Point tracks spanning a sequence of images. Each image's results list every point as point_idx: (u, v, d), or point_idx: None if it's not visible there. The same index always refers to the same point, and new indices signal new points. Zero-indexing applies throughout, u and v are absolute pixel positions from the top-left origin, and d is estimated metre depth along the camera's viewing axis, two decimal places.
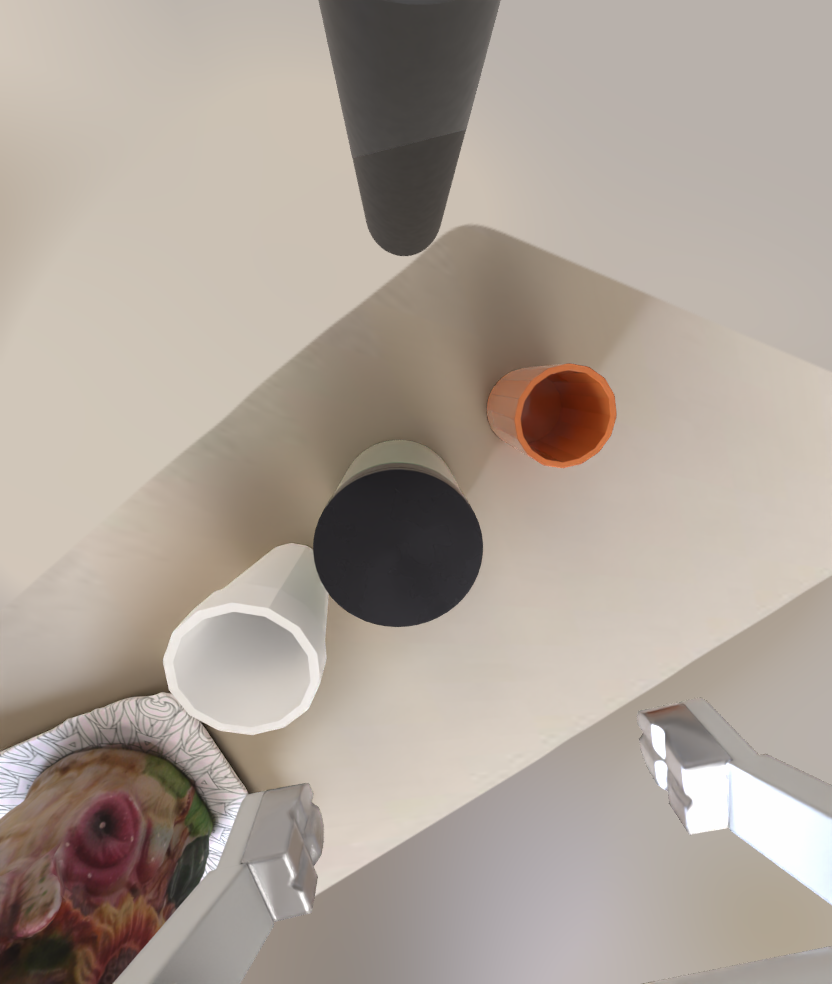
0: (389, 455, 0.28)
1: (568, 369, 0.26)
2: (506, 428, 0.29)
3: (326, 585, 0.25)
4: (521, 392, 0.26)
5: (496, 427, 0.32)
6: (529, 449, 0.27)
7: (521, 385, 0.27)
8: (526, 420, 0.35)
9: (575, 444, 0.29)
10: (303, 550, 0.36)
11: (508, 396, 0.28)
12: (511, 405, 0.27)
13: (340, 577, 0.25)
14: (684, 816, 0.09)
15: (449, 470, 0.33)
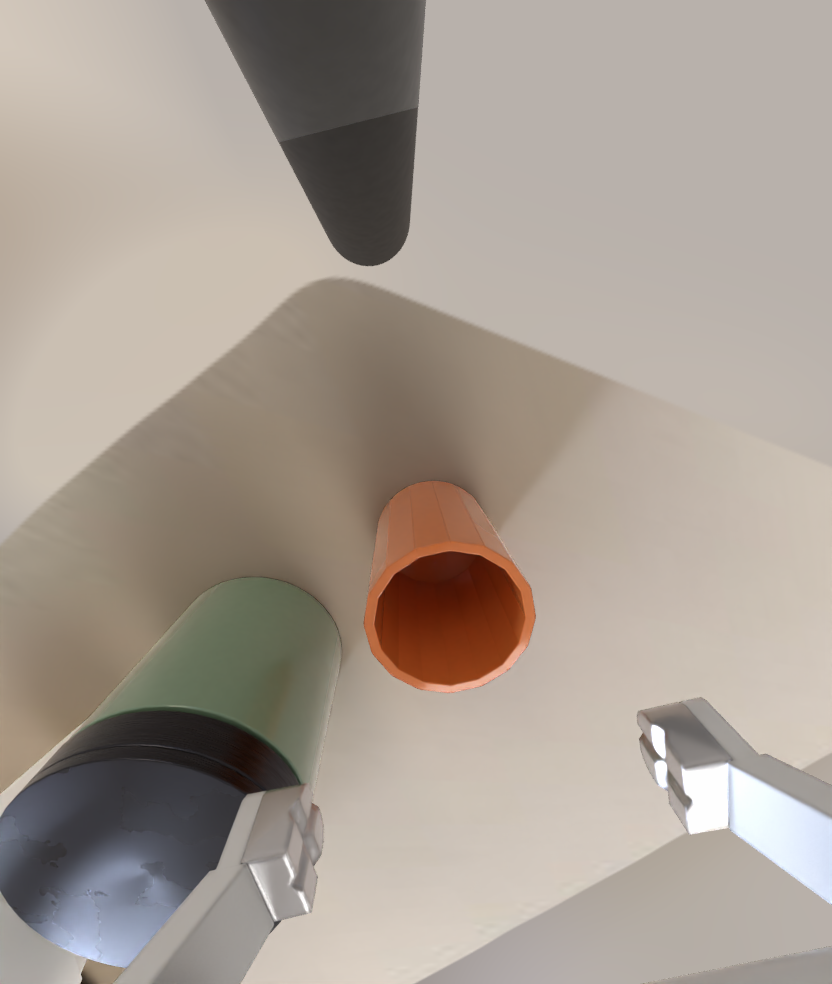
0: (178, 660, 0.17)
1: (450, 549, 0.15)
2: None
3: (29, 922, 0.15)
4: (374, 582, 0.15)
5: None
6: (393, 667, 0.16)
7: (382, 560, 0.16)
8: (433, 553, 0.24)
9: (483, 628, 0.19)
10: None
11: (373, 562, 0.18)
12: None
13: (52, 911, 0.15)
14: (684, 816, 0.09)
15: (311, 638, 0.22)
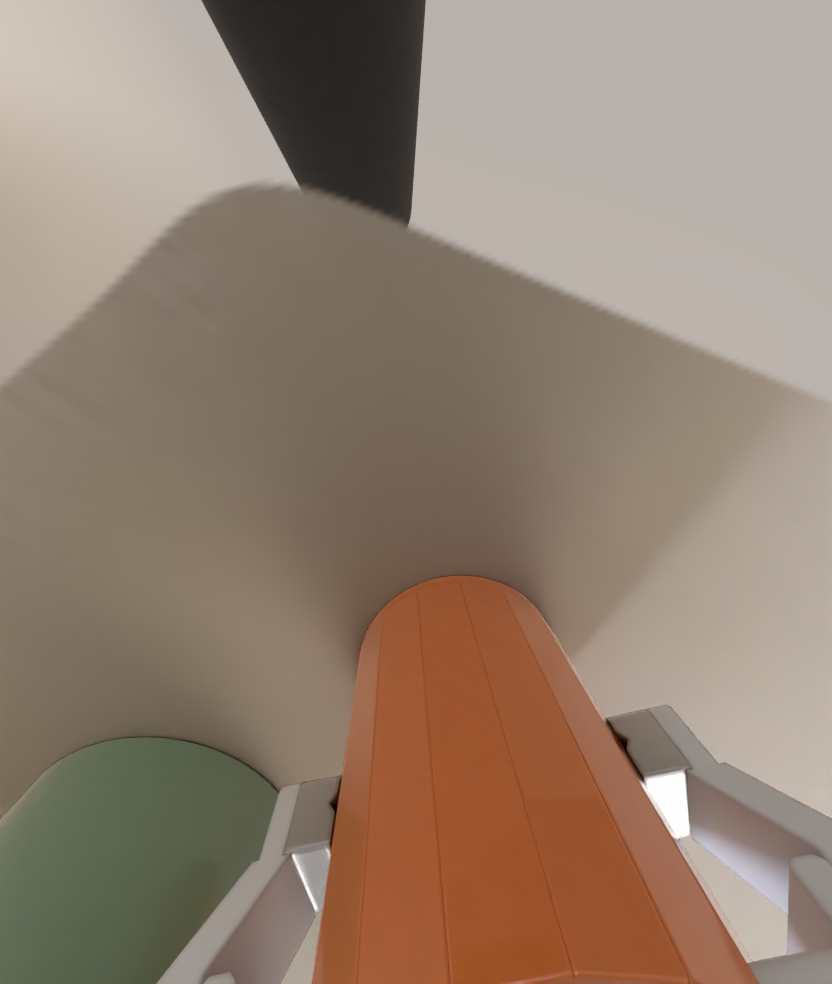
0: None
1: None
2: None
3: None
4: None
5: None
6: None
7: (348, 915, 0.06)
8: None
9: None
10: None
11: (333, 849, 0.07)
12: (312, 976, 0.06)
13: None
14: None
15: (227, 892, 0.11)
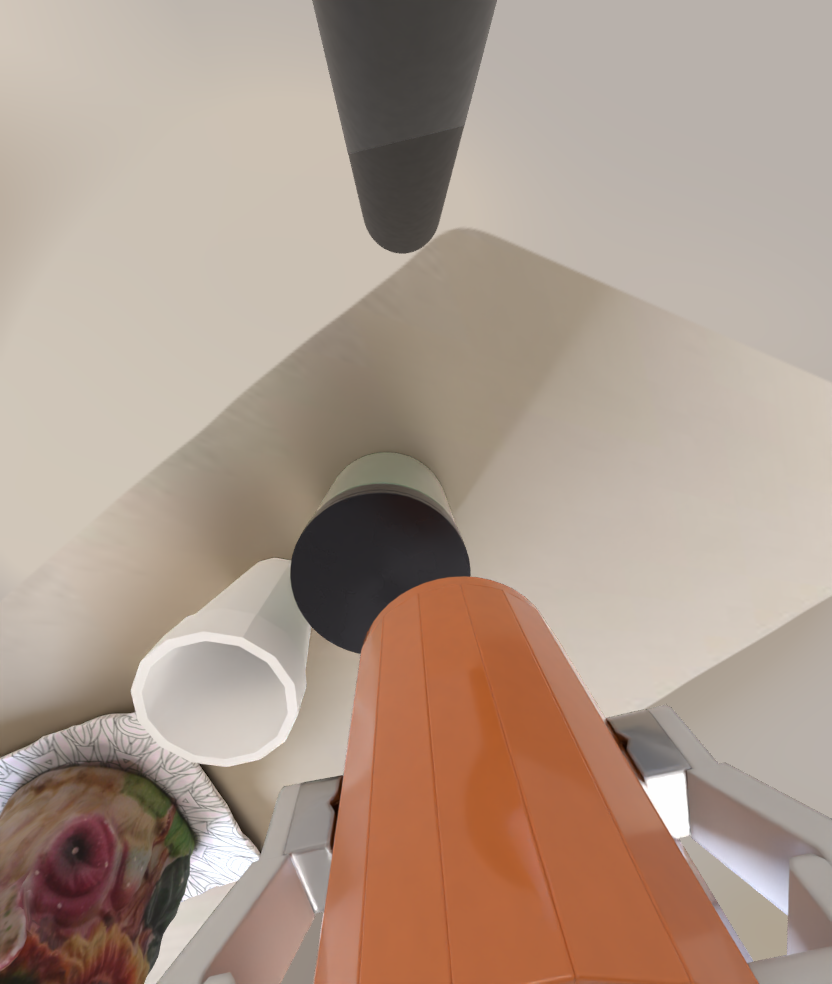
0: (374, 473, 0.27)
1: None
2: None
3: (304, 612, 0.24)
4: None
5: None
6: None
7: (350, 917, 0.06)
8: None
9: None
10: (287, 566, 0.34)
11: (334, 850, 0.07)
12: (314, 978, 0.06)
13: (319, 604, 0.24)
14: None
15: (439, 486, 0.31)
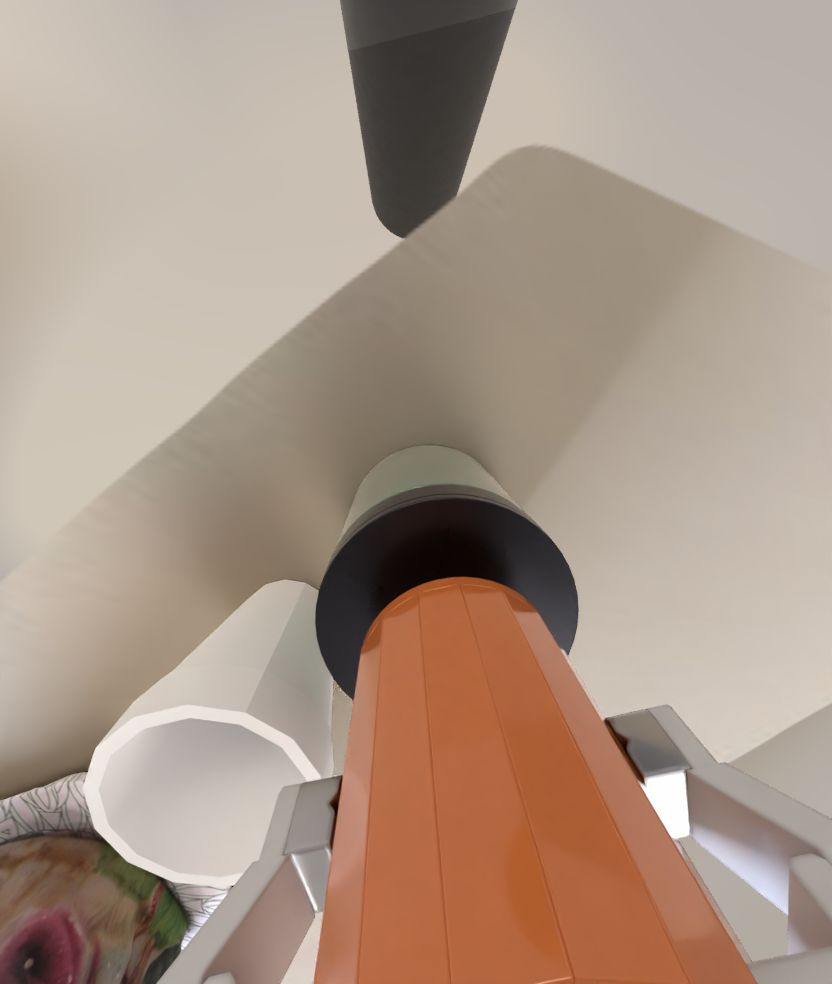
0: (426, 470, 0.19)
1: None
2: None
3: (335, 673, 0.16)
4: None
5: None
6: None
7: (349, 918, 0.06)
8: None
9: None
10: (301, 591, 0.27)
11: (333, 851, 0.07)
12: (313, 979, 0.06)
13: (357, 662, 0.16)
14: None
15: None
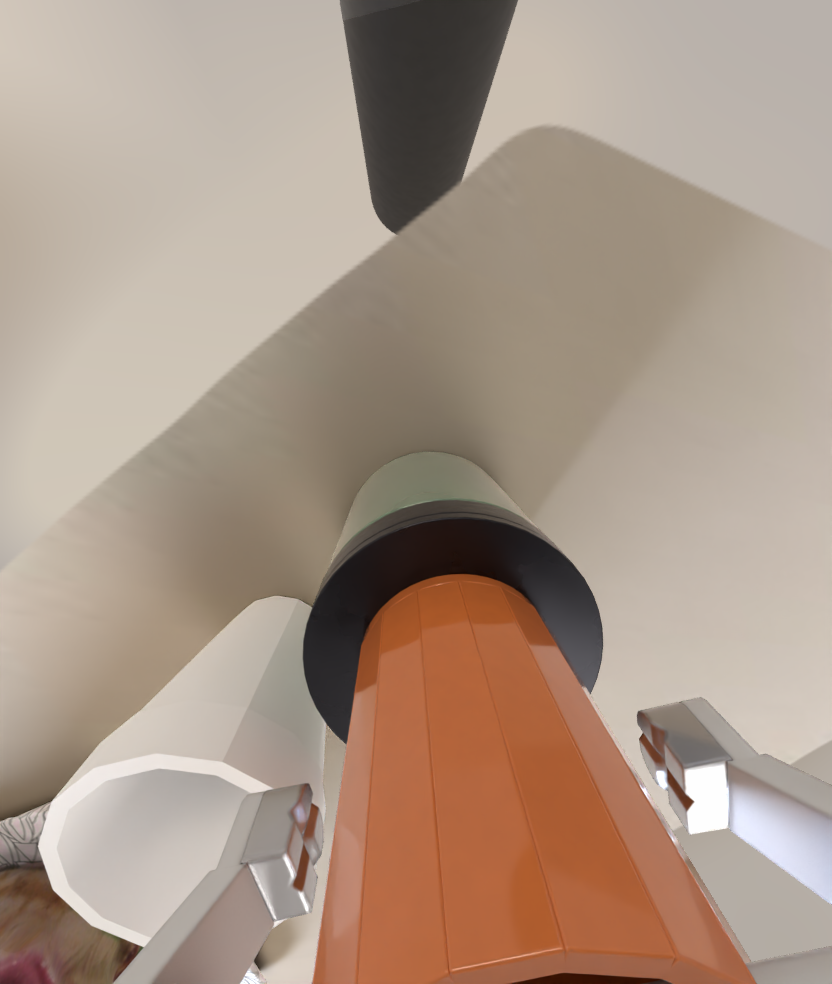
0: (429, 482, 0.17)
1: (562, 961, 0.05)
2: None
3: (325, 714, 0.14)
4: None
5: None
6: None
7: (350, 899, 0.06)
8: None
9: None
10: (293, 609, 0.25)
11: (334, 838, 0.07)
12: (315, 959, 0.06)
13: (351, 702, 0.14)
14: (684, 815, 0.09)
15: None
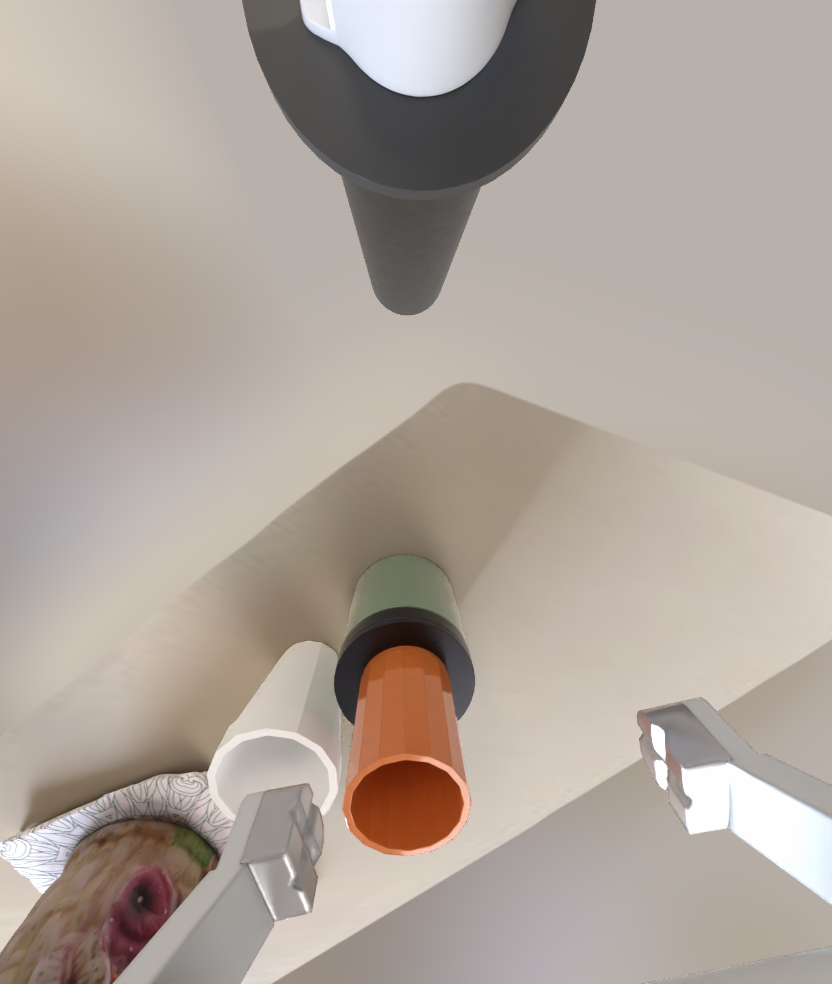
0: (396, 590, 0.33)
1: (405, 758, 0.20)
2: None
3: (344, 710, 0.30)
4: (350, 778, 0.21)
5: None
6: (365, 839, 0.21)
7: (357, 754, 0.22)
8: None
9: (439, 790, 0.24)
10: (319, 650, 0.41)
11: (352, 745, 0.23)
12: (347, 774, 0.22)
13: (356, 704, 0.30)
14: (684, 816, 0.09)
15: (447, 588, 0.38)
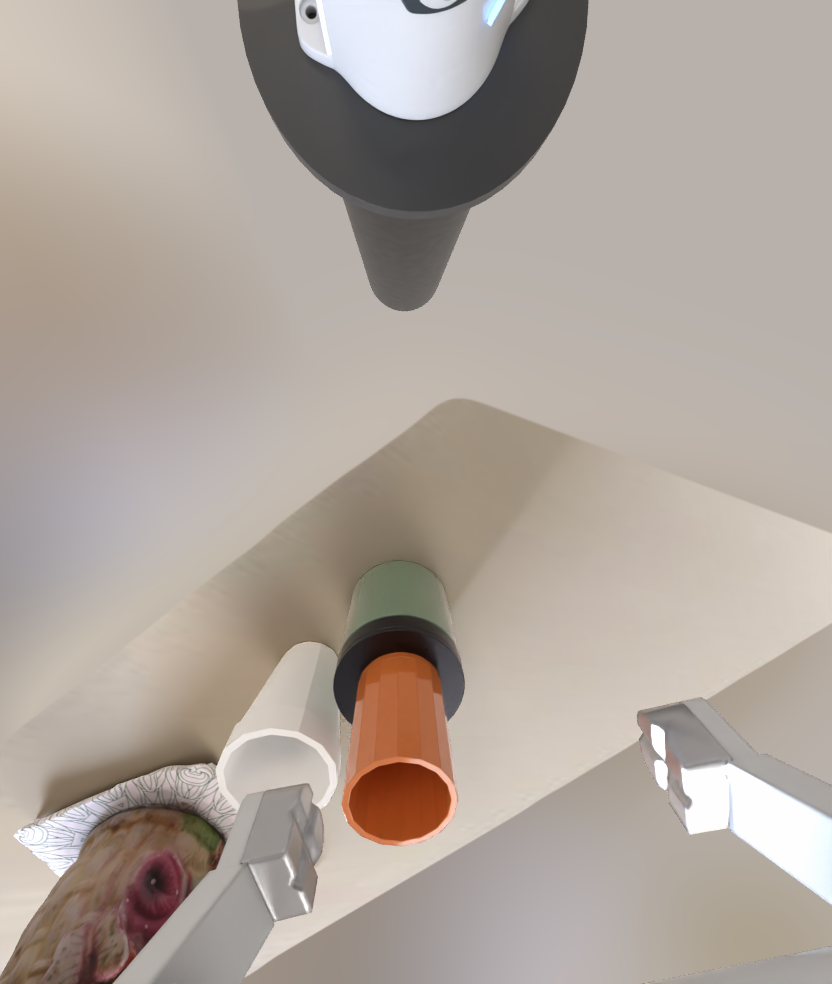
0: (392, 598, 0.35)
1: (398, 760, 0.23)
2: None
3: (342, 711, 0.32)
4: (348, 778, 0.23)
5: None
6: (362, 831, 0.24)
7: (355, 756, 0.24)
8: None
9: (430, 786, 0.26)
10: (319, 650, 0.43)
11: (350, 746, 0.25)
12: None
13: (354, 706, 0.32)
14: (684, 816, 0.09)
15: (440, 593, 0.40)
